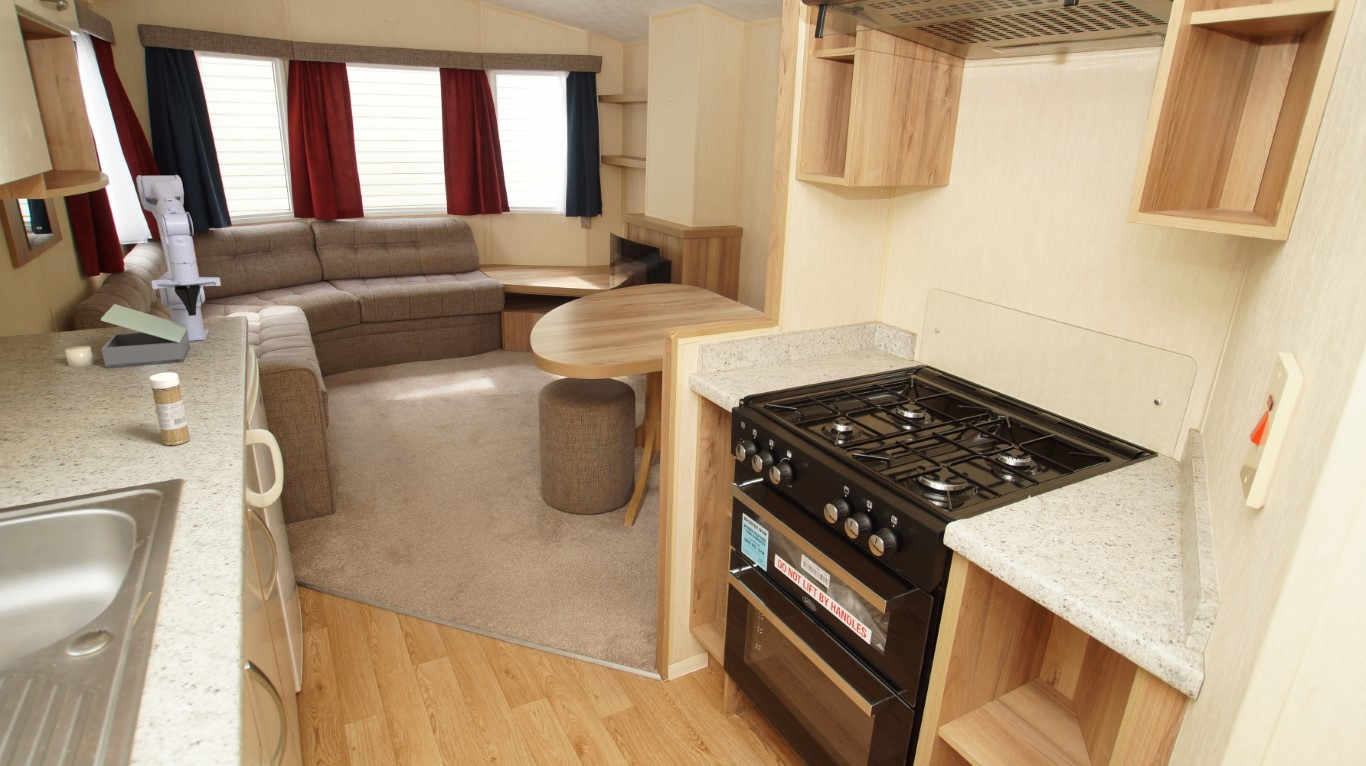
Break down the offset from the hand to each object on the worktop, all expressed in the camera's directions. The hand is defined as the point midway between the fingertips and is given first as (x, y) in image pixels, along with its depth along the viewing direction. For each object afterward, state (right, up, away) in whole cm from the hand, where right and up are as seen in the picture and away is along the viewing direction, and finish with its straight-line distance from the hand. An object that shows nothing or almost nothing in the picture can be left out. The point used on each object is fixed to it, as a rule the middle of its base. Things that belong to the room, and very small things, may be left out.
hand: (192, 314), depth 193 cm
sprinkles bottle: (+29, -29, -49) cm, 64 cm away
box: (-10, -11, -1) cm, 15 cm away
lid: (-9, -3, -4) cm, 10 cm away
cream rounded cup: (-22, -13, -8) cm, 27 cm away
